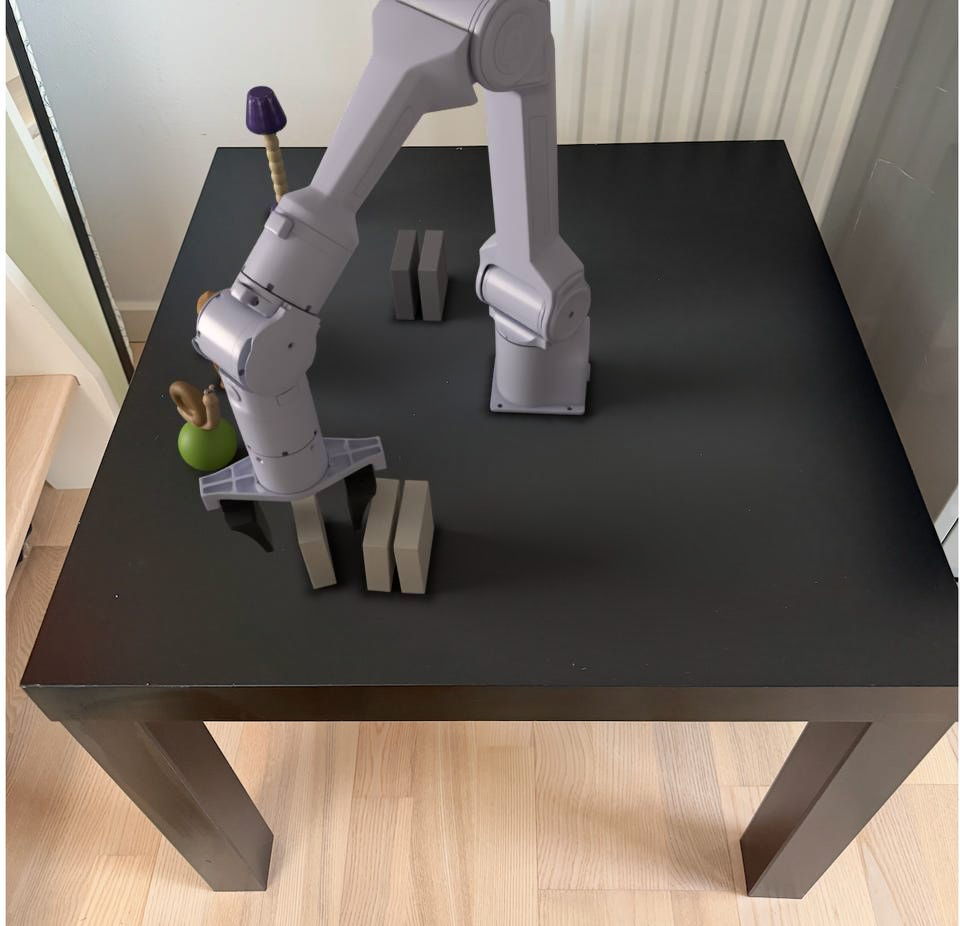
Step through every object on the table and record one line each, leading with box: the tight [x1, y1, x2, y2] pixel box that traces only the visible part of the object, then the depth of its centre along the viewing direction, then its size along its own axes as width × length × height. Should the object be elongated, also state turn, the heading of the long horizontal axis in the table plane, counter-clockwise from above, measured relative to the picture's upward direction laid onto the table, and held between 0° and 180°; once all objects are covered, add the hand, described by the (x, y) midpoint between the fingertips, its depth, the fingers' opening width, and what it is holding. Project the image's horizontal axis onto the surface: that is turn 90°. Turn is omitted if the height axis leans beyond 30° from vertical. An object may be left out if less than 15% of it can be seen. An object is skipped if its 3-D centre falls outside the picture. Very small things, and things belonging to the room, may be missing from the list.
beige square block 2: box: [394, 479, 435, 595], centre depth 78 cm, size 2×7×7 cm, turn 175°
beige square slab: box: [290, 493, 337, 590], centre depth 79 cm, size 2×7×7 cm, turn 16°
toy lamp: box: [245, 85, 290, 216], centre depth 108 cm, size 5×5×17 cm
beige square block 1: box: [362, 477, 401, 593], centre depth 78 cm, size 2×7×7 cm, turn 175°
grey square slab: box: [389, 229, 421, 321], centre depth 101 cm, size 2×7×7 cm, turn 175°
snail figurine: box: [169, 380, 238, 472], centre depth 84 cm, size 5×6×12 cm
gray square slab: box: [418, 229, 449, 322], centre depth 100 cm, size 2×7×7 cm, turn 175°
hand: (312, 532), depth 79 cm, fingers open, 7 cm apart
